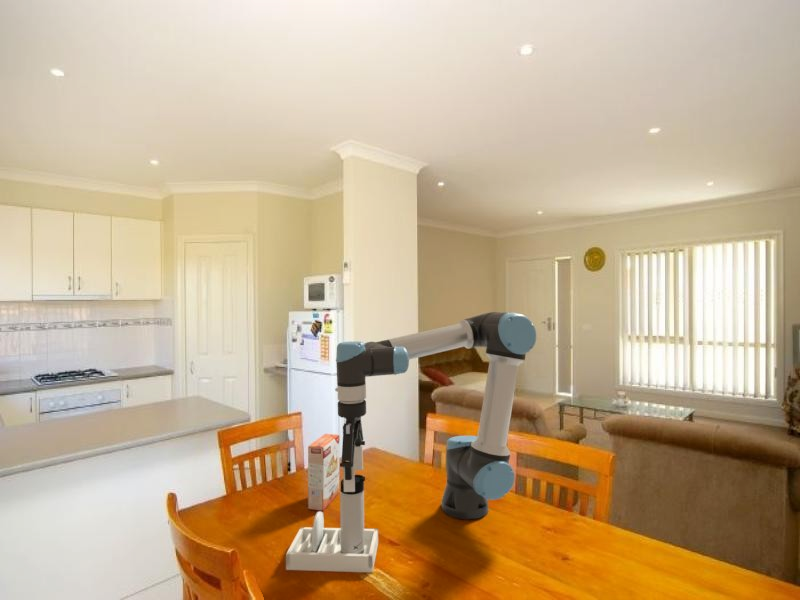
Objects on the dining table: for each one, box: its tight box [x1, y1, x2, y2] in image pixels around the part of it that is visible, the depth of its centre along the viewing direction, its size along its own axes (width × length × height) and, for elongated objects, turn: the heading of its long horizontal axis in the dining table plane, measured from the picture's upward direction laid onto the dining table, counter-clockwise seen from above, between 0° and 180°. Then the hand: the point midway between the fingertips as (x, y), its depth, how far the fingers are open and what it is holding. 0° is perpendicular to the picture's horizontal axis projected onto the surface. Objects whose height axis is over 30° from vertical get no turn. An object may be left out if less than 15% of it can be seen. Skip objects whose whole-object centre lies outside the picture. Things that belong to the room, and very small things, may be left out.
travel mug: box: [339, 474, 366, 554], centre depth 116 cm, size 6×7×20 cm
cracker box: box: [307, 433, 340, 512], centre depth 147 cm, size 14×6×21 cm, turn 166°
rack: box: [285, 511, 379, 573], centre depth 116 cm, size 22×13×11 cm, turn 87°
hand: (353, 479), depth 116 cm, fingers open, 13 cm apart
